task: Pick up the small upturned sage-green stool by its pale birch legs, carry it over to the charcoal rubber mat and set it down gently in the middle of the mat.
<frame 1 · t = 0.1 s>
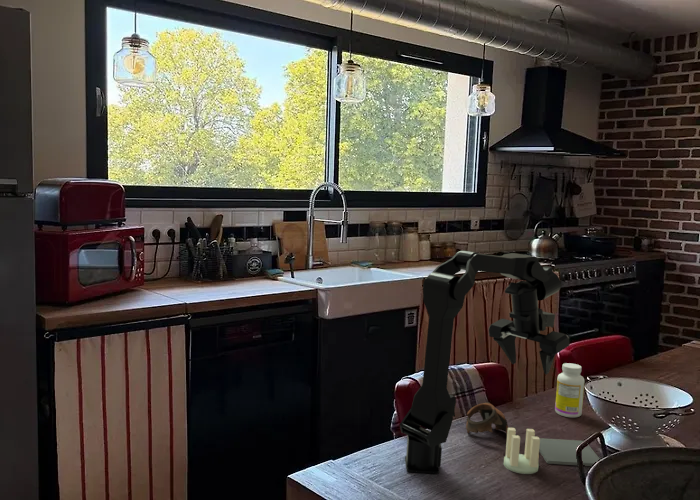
hand: (530, 368, 150), 15 cm above the table, tool pointing down, fingers open, 9 cm apart
supplement bottle: (567, 414, 166), on the table
mat: (566, 452, 141), on the table
stool: (520, 466, 133), on the table
pottery mug: (487, 434, 150), on the table
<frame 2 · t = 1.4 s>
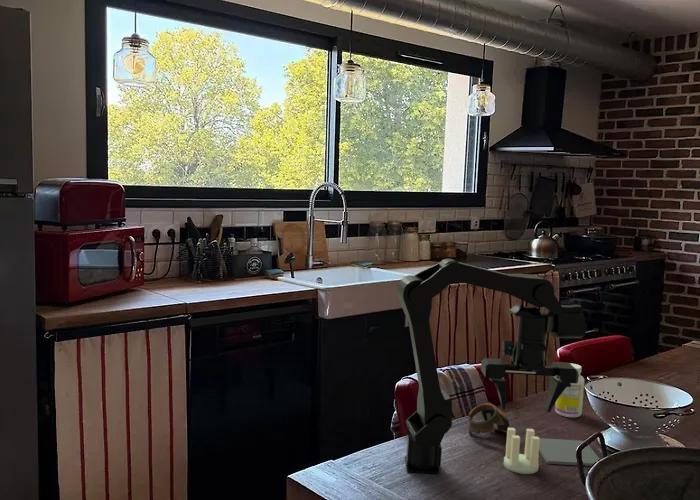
hand: (525, 410, 132), 12 cm above the table, tool pointing down, fingers open, 9 cm apart
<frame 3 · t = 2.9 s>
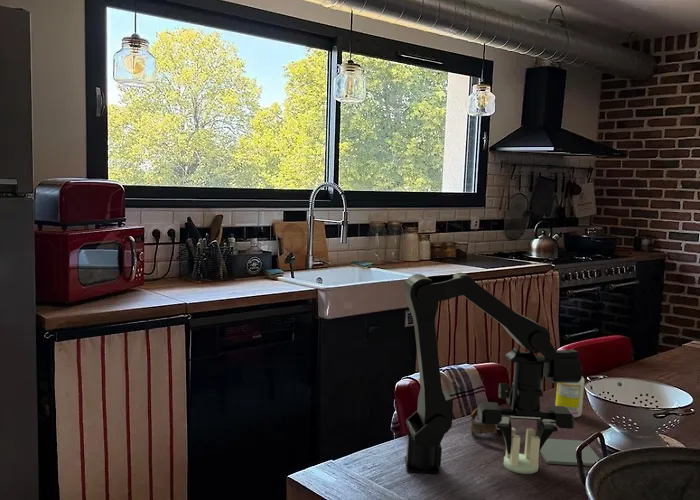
hand: (521, 454, 133), 3 cm above the table, tool pointing down, fingers closed on stool, 5 cm apart
stool: (520, 466, 133), on the table, touching gripper
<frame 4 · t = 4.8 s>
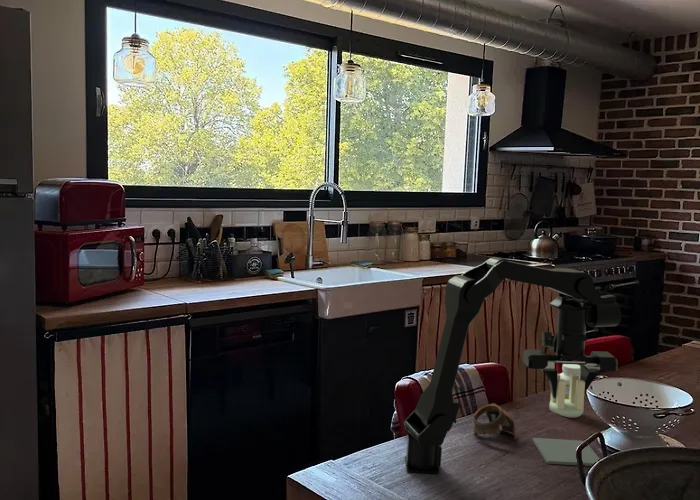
hand: (567, 398, 138), 13 cm above the table, tool pointing down, fingers closed on stool, 5 cm apart
stool: (566, 409, 138), point 10 cm above the table, touching gripper
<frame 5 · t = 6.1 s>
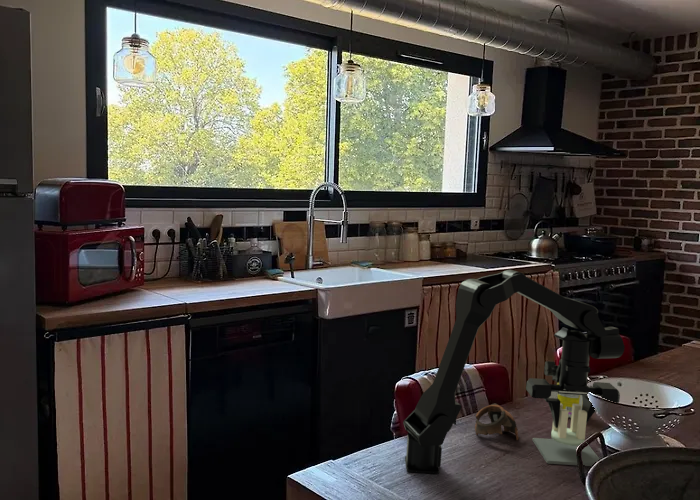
hand: (568, 428, 140), 6 cm above the table, tool pointing down, fingers closed on stool, 5 cm apart
stool: (567, 439, 140), point 3 cm above the table, touching gripper
when the fingers open (3 cm above the table, at t = 7.0 s): stool stays where it is, resting on mat.
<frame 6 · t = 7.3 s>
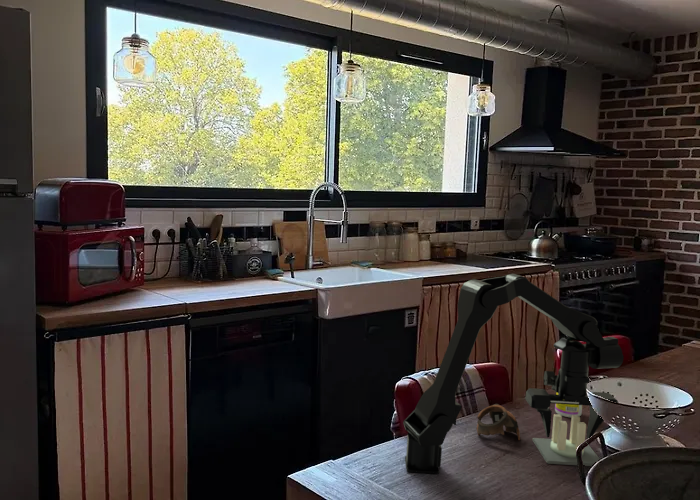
hand: (568, 437, 140), 3 cm above the table, tool pointing down, fingers open, 9 cm apart
stool: (566, 450, 141), point 1 cm above the table, touching mat
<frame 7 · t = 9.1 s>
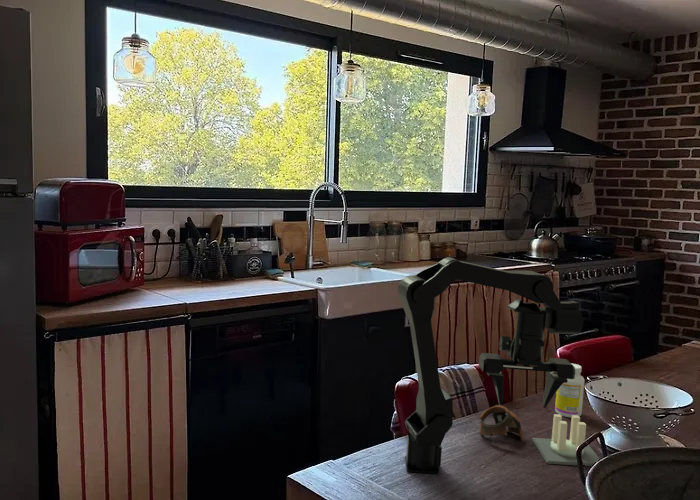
hand: (521, 405, 133), 13 cm above the table, tool pointing down, fingers open, 9 cm apart
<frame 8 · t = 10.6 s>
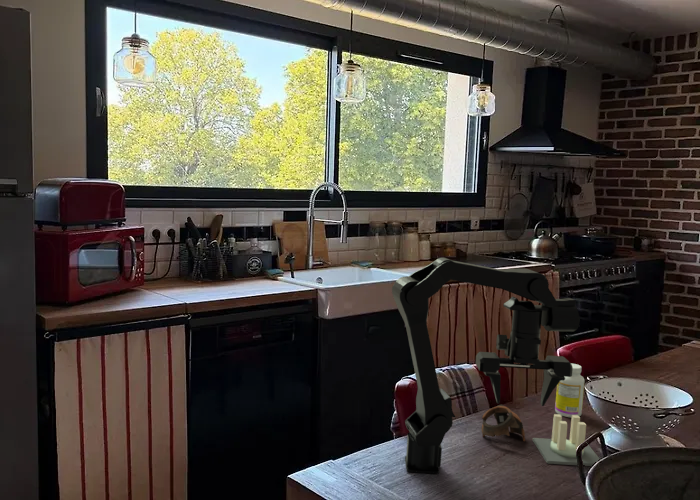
hand: (519, 404, 133), 13 cm above the table, tool pointing down, fingers open, 9 cm apart
at the end: stool inside the target area on the mat (0.1 cm from its centre), point 0.6 cm above the mat's base; stool tilted 0°; the gripper is holding nothing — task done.
